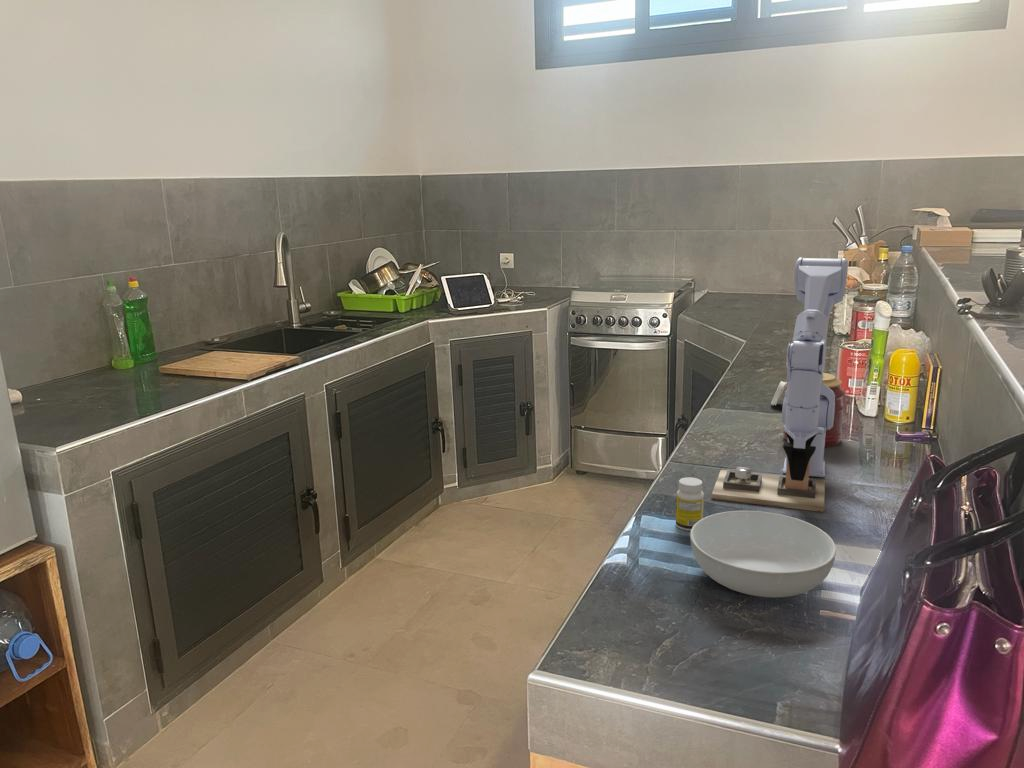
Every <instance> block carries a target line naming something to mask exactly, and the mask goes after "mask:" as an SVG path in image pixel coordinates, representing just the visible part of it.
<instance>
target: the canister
mask: <svg viewBox="0 0 1024 768" xmlns="http://www.w3.org/2000/svg"><path fill="white" fill-rule="evenodd" d="M822 382H823V383H824V384H825V385H826V386H828V387H829V388H830V389H831V390H832V391H833V392H834V394H835V412H834V421H833V427H832V428H831V429H830V430H827V429H826V434H825V446H824V448H828V447H829V448H830V447H834V446H837V445H838V444H840V443H841V439H842V434H843V431H842V428H843V427H842V426H843V425H842V424H843V415H844V414H843V413H844V409H845V406H844V403H843V397H844V396H846V391H845V390H844V389H843V388H841V386H842V385H843V381H842V380H841V379H839V378H838V377H837V376H835V374H832V373H829V372H828V373H826V372H823V381H822ZM787 388H788V386H787V387H786V386H785V387H784V391H786V390H787ZM820 399H823V398H820ZM781 432H782V437H783V439H784V440H786V442H788V436H787V434H786V432H785V431H784V424H783V425H782V431H781Z"/></svg>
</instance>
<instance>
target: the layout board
mask: <svg viewBox="0 0 1024 768" xmlns="http://www.w3.org/2000/svg"><path fill="white" fill-rule="evenodd" d="M785 482H786V475H784V476H783V475H776V474H775V475H774V474H768V473H767V474H765V473H758V472H756V473H755V472H751V484H745V483H736V482H735V470H730V469H729V470H728V469H720V471H719V473H718V477H717V478H716V481H715V484H714V487H713V490H712V492H711V499H712V500H713V499H714V500H720V501H727V502H728V501H730V502H738V503H745V504H755V505H764V506H771V507H779V508H787V509H795V510H806V511H813V512H819V511H820V512H821V513H825V498H826V497H825V493H826V492H825V487H826V486H825V485H826V482H825V480H821V479H814V478H809V481H808V490H799V489H790V488H785Z"/></svg>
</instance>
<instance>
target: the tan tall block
mask: <svg viewBox="0 0 1024 768" xmlns="http://www.w3.org/2000/svg"><path fill="white" fill-rule="evenodd" d="M809 467H810V460H809V463H808V466H807V469H806V473H805V477H804V479H803V481H798V480H791V476H790V469H789V462H788V458H787V468H786V473H785V476H786V482H785V488H790V489H799V490H808V481H809V479H810V476H809Z"/></svg>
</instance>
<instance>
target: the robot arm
mask: <svg viewBox="0 0 1024 768" xmlns="http://www.w3.org/2000/svg"><path fill="white" fill-rule="evenodd" d="M848 268H849V260H848V259H846V258H845V257H843V258H826V257H825V258H819V257H817V258H815V257H814V258H811V257H810V258H809V257H807V258H806V257H802V256H800V257H798V259H796V261H795V266H794V276H793V277H794V288H795V289H794V291H795V295H796V300H797V301H799V302H801V303H802V304H804V306H803V307H804V308H803V309H804V311H802V312H800V313H799V314H797V317H796V319H795V323H794V325H795V326H794V331H793V336H792V341H791V342H789V343H788V345H787V349H786V364H785V365H786V371H787V372H786V375H787V376H786V379H787V380H788V388H787V390H786V391H785V390H784V391H785V392H784V398H783V402H782V407H781V408H782V410H781V423H783V425H784V431H785V432H786V434H787V436H788V441H784V442H783V443H782V444H783V445H782V447H783V450H784V452H785V454H786V457H785V458H784V463H783V469H782V473H783V474H786V468H787V458H788V462H789V469H790V476H791V480H798V481H803V479H804V477H805V473H806V469H807V466H808V463H809V460H810V467H809V477H817V478H825V476H826V475H825V473H826V472H825V470H826V461H825V460H824V457H825V447H824V446H825V434H826V429H827V430H830V429H831V428H832V427H833V421H834V412H835V394H834V392H833V391H832V390H831V389H830V388H829V387H828V386H826V385H825V384H824V383H823V382H822V381H823V373H824V371H825V367H826V361H827V339H828V333H829V332H828V331H829V322H830V321H829V320H830V315H831V313H832V310H833V308H834V305H837V304H839V303H841V302H843V301H844V297H845V295H846V287H847V279H848V270H849V269H848ZM820 398H823V399H820Z"/></svg>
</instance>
